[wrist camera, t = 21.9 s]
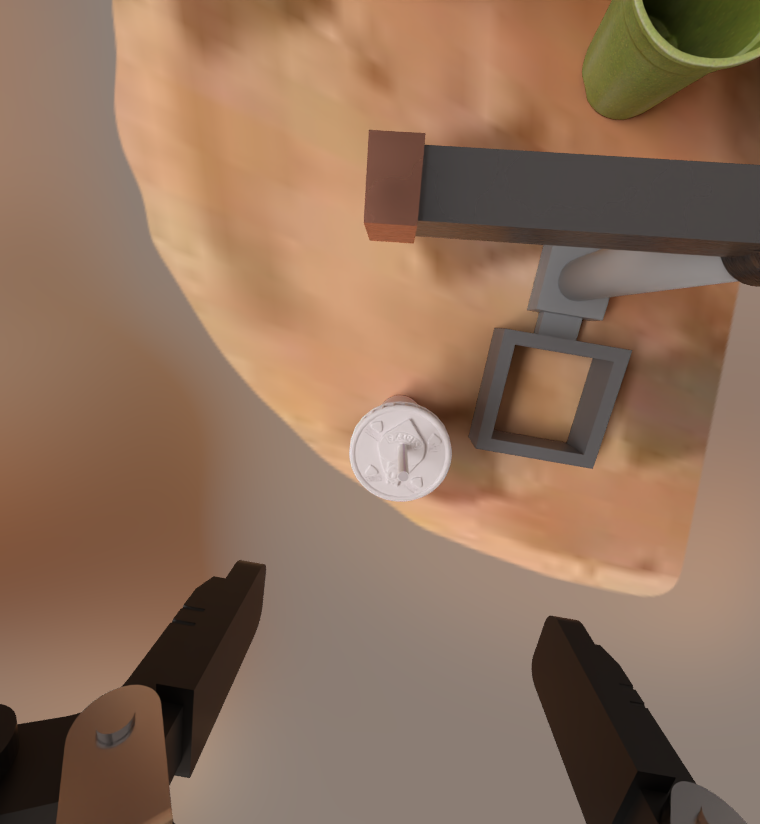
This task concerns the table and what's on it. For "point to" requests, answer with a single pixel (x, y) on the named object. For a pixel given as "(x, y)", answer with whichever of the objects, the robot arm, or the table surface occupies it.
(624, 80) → the plant pot
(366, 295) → the table surface
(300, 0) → the table surface
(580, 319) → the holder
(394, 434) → the smoothie
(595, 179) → the joystick lever
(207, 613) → the robot arm
